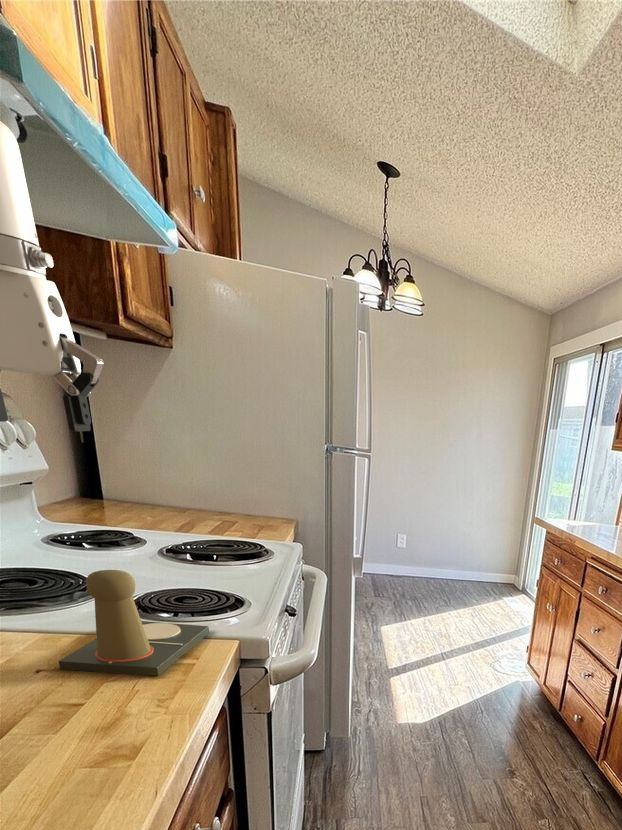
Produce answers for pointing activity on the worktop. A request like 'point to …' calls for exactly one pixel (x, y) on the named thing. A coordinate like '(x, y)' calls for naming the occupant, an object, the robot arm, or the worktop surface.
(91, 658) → the board
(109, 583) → the cork
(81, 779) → the worktop surface
